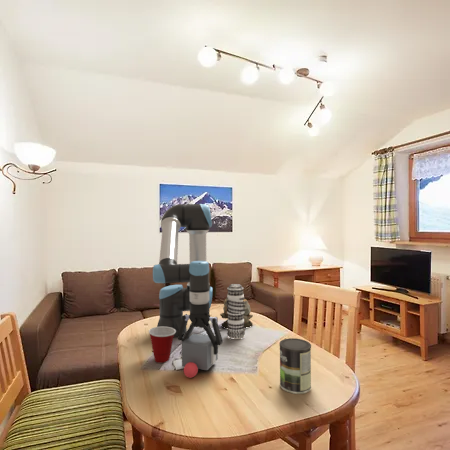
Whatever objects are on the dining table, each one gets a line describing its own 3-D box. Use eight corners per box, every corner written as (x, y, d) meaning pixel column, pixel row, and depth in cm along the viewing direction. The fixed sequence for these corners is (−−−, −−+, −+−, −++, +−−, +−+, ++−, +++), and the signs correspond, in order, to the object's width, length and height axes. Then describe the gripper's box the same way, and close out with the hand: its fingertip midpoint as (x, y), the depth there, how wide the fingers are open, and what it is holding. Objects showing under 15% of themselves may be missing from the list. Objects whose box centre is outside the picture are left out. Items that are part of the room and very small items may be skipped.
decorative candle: (241, 332, 157) (240, 282, 157) (248, 338, 148) (247, 285, 148) (224, 334, 154) (223, 283, 154) (230, 341, 145) (229, 287, 145)
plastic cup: (170, 366, 120) (170, 335, 120) (144, 364, 122) (143, 333, 122) (180, 355, 130) (179, 326, 130) (155, 353, 132) (155, 325, 132)
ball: (185, 358, 113) (180, 370, 109) (198, 360, 112) (193, 372, 107) (188, 367, 115) (183, 379, 111) (200, 369, 114) (196, 381, 110)
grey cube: (193, 355, 126) (193, 333, 126) (217, 359, 122) (217, 336, 122) (181, 366, 116) (181, 342, 116) (207, 370, 112) (207, 345, 113)
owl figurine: (223, 331, 160) (223, 297, 160) (217, 324, 171) (216, 293, 171) (256, 327, 165) (255, 294, 165) (247, 321, 176) (247, 290, 177)
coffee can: (284, 395, 99) (284, 350, 99) (276, 379, 109) (276, 338, 109) (316, 393, 100) (315, 349, 100) (305, 377, 110) (304, 337, 110)
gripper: (168, 302, 119) (168, 360, 119) (224, 306, 112) (225, 369, 112) (177, 298, 127) (178, 353, 126) (231, 301, 119) (231, 360, 119)
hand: (200, 360), depth 119 cm, fingers closed on grey cube, 10 cm apart
